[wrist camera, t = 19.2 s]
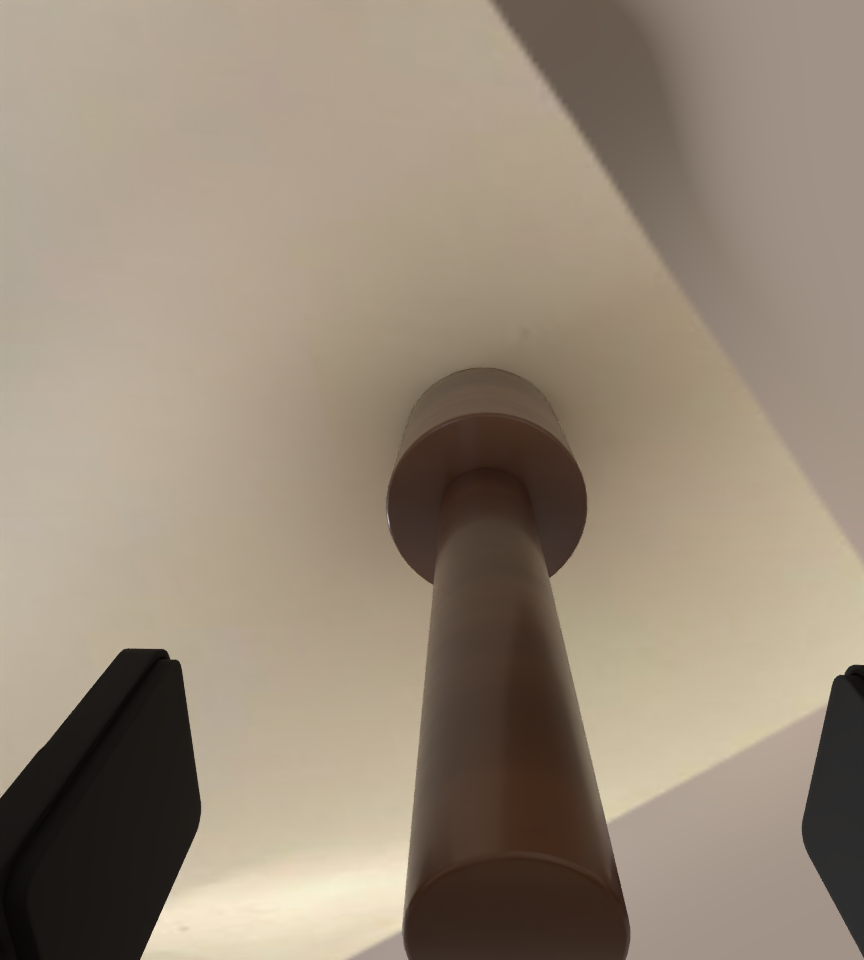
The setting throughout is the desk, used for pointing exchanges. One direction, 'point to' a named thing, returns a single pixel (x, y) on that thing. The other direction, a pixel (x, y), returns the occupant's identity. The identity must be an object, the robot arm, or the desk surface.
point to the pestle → (499, 687)
